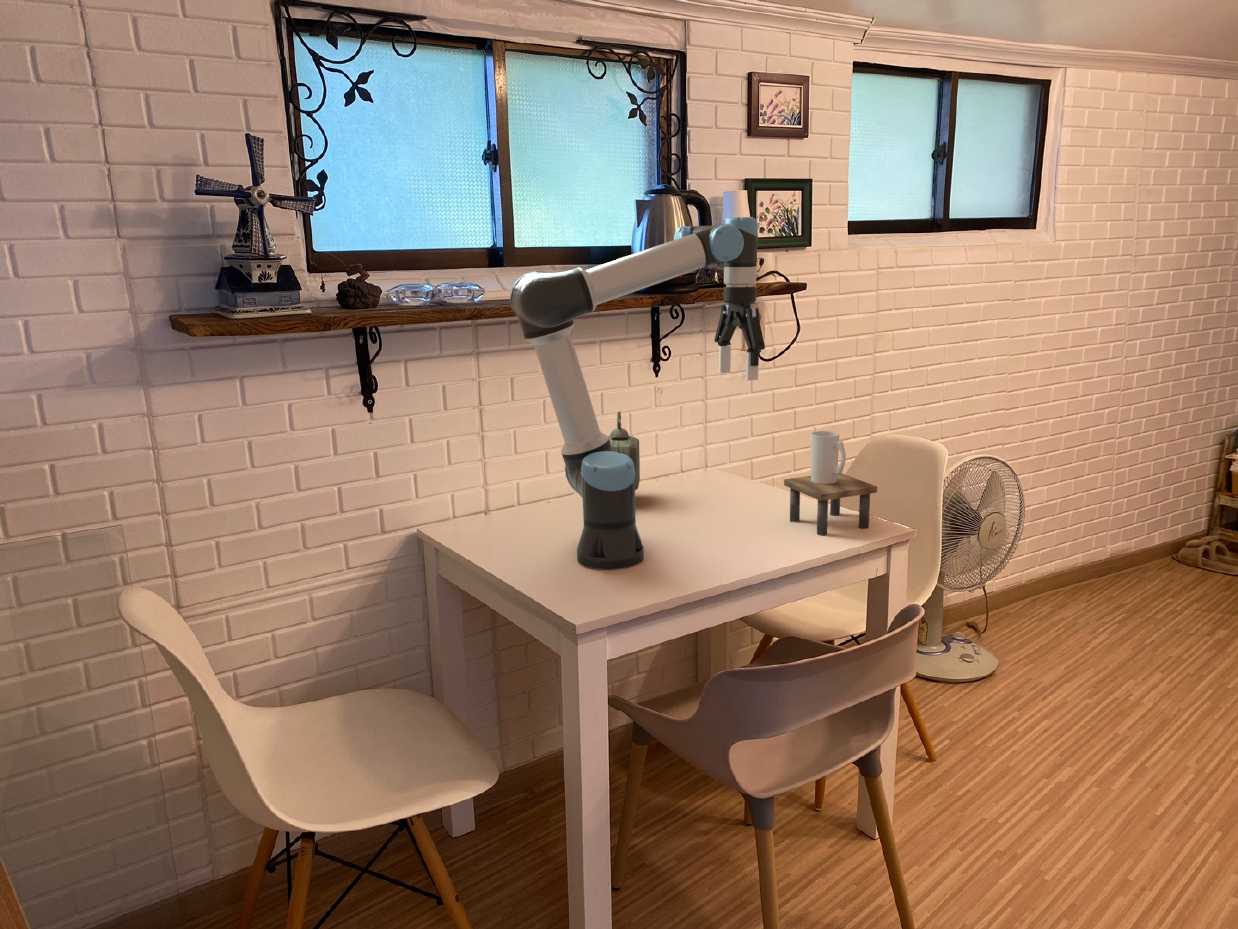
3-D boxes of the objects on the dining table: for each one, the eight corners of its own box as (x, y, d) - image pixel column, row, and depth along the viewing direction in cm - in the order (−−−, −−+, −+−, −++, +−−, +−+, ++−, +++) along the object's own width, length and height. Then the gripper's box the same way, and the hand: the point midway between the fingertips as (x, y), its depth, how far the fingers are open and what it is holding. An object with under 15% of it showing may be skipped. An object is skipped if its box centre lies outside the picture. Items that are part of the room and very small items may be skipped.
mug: (804, 480, 228) (805, 433, 226) (823, 476, 232) (824, 429, 229) (834, 489, 220) (835, 439, 217) (853, 484, 224) (855, 436, 221)
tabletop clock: (608, 494, 260) (605, 407, 254) (640, 494, 259) (638, 406, 253) (603, 509, 246) (600, 417, 240) (637, 509, 245) (635, 416, 239)
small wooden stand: (819, 537, 218) (820, 494, 216) (783, 519, 233) (784, 479, 230) (875, 528, 224) (877, 486, 221) (836, 511, 238) (838, 472, 236)
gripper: (782, 287, 205) (778, 382, 210) (729, 283, 228) (727, 369, 233) (752, 288, 203) (749, 384, 207) (701, 284, 225) (700, 370, 230)
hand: (737, 376), depth 220 cm, fingers open, 13 cm apart
